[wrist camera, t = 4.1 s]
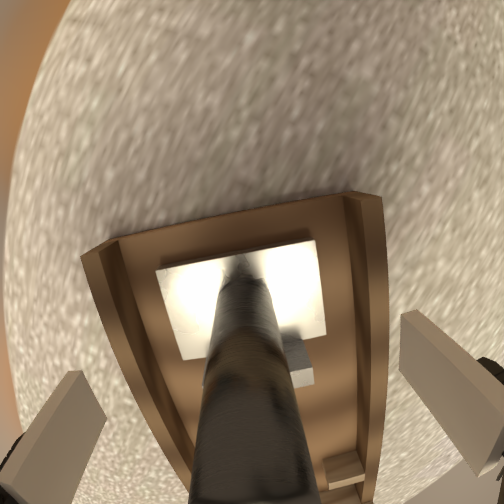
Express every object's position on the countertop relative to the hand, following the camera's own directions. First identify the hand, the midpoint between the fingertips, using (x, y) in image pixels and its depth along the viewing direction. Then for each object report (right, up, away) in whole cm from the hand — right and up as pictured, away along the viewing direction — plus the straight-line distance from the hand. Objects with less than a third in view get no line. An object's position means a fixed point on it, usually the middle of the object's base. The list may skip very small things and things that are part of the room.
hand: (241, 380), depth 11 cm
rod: (0, +1, +8) cm, 8 cm away
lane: (+2, -7, +12) cm, 14 cm away
